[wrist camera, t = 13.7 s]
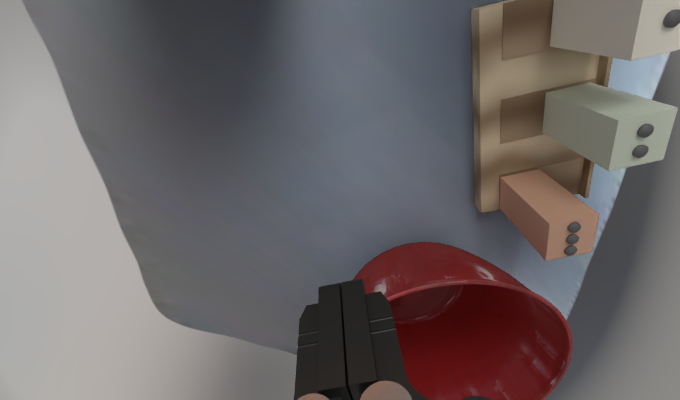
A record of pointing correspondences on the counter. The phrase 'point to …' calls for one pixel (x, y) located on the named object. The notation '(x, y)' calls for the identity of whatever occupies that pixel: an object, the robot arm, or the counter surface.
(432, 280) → the mixing bowl
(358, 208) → the counter surface
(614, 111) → the grey green block
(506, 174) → the board
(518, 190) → the key
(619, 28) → the grey rectangular block
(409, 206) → the counter surface
